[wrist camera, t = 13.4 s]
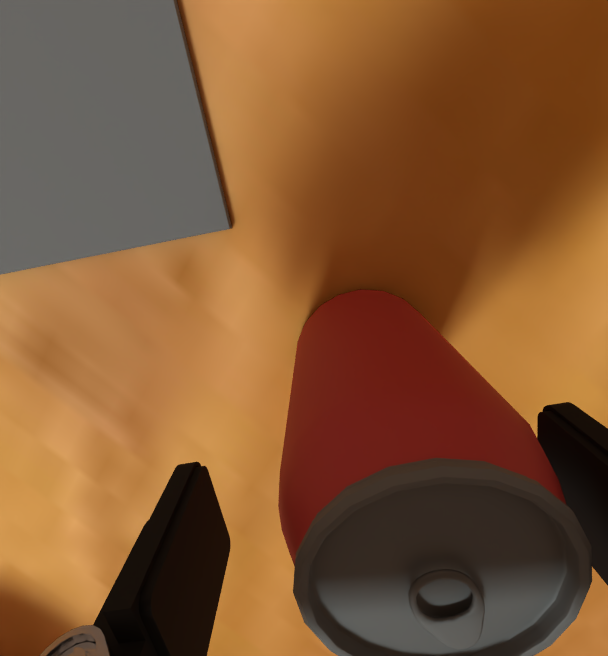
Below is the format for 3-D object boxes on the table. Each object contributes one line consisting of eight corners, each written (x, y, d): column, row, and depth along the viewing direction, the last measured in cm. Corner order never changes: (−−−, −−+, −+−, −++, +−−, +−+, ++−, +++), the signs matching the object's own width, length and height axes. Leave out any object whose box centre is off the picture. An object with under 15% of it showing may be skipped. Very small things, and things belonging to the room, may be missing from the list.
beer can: (326, 424, 20) (342, 726, 8) (275, 317, 18) (202, 515, 6) (445, 382, 18) (652, 660, 7) (403, 264, 17) (592, 385, 5)
